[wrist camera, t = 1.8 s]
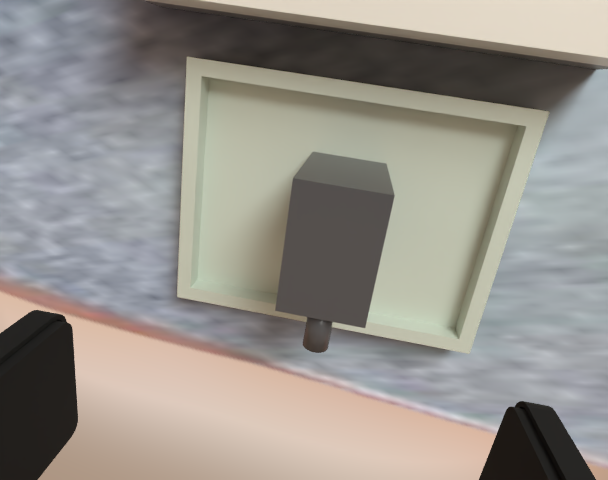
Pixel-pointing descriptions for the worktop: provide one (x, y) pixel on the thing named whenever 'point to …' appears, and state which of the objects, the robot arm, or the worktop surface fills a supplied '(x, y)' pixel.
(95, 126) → the worktop surface
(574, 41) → the power strip
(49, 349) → the robot arm
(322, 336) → the plug
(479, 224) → the tray
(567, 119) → the worktop surface
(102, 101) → the worktop surface
